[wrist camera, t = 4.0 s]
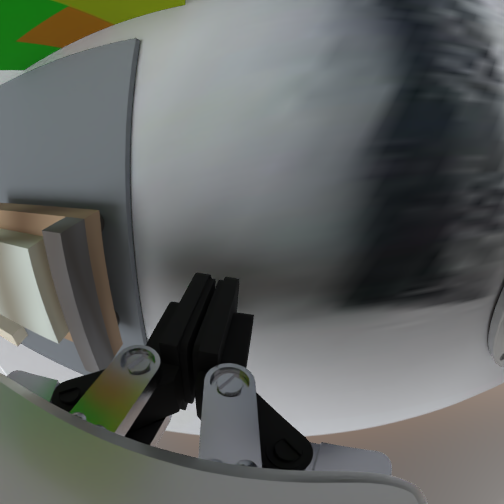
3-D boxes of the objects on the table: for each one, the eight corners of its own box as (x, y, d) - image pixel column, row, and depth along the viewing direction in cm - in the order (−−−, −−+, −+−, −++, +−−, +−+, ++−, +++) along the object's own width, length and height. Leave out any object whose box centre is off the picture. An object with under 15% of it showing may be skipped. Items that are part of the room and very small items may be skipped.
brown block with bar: (115, 201, 10) (60, 233, 7) (132, 329, 13) (102, 376, 10) (5, 195, 11) (-38, 216, 8) (28, 295, 14) (-3, 324, 11)
